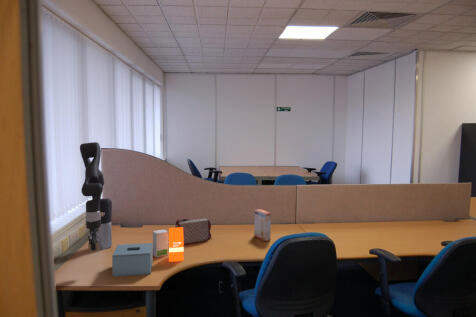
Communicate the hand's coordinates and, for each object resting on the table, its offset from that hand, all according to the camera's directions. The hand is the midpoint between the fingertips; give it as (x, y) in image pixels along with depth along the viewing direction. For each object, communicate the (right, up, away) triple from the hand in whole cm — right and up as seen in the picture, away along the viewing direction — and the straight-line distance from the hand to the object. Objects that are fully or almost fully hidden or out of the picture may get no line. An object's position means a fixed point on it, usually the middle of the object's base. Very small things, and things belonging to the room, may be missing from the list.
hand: (94, 249), depth 173 cm
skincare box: (+30, -12, +27) cm, 42 cm away
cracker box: (+98, -10, +62) cm, 117 cm away
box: (+20, -13, +6) cm, 25 cm away
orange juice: (+41, -13, +22) cm, 48 cm away
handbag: (+48, -10, +54) cm, 73 cm away
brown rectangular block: (0, -1, 0) cm, 1 cm away
